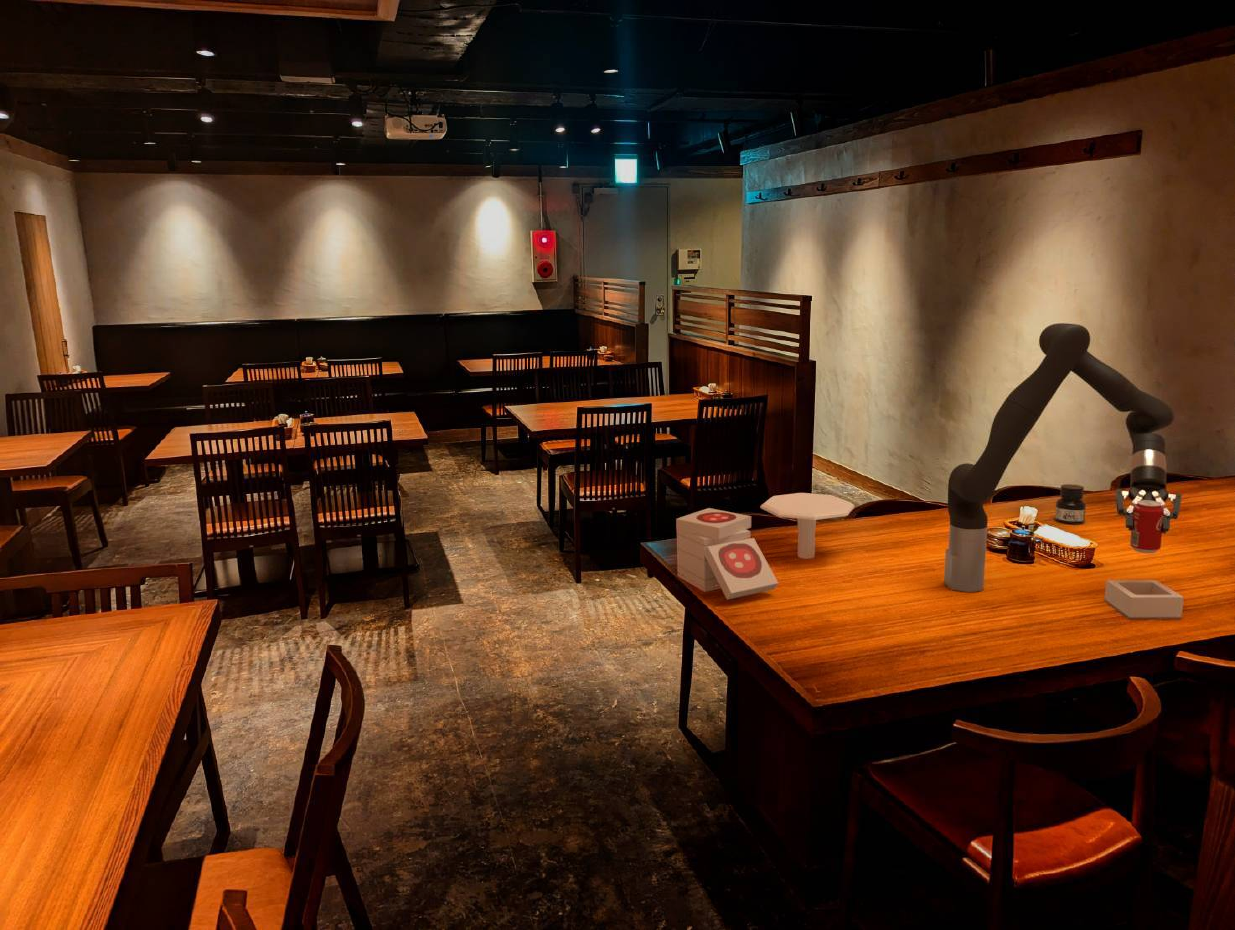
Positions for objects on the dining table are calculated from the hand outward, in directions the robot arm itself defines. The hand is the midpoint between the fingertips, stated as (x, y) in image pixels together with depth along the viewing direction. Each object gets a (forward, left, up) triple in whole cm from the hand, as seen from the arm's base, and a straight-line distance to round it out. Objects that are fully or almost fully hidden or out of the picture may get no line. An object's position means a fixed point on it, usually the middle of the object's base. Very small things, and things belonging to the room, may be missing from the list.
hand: (1147, 530), depth 204 cm
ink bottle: (+19, +80, -21) cm, 85 cm away
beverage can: (+1, +2, -6) cm, 6 cm away
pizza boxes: (-100, +20, -21) cm, 104 cm away
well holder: (+1, +1, -21) cm, 21 cm away
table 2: (-74, +45, -21) cm, 89 cm away
